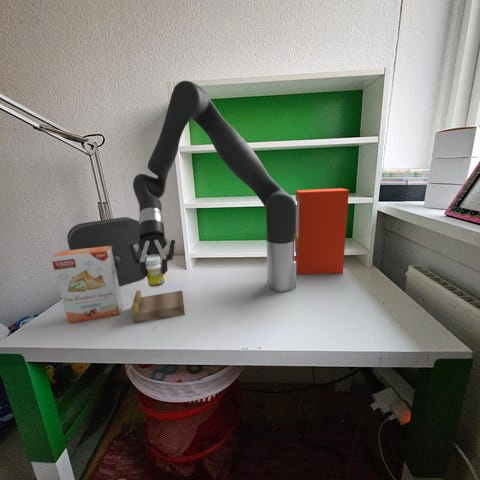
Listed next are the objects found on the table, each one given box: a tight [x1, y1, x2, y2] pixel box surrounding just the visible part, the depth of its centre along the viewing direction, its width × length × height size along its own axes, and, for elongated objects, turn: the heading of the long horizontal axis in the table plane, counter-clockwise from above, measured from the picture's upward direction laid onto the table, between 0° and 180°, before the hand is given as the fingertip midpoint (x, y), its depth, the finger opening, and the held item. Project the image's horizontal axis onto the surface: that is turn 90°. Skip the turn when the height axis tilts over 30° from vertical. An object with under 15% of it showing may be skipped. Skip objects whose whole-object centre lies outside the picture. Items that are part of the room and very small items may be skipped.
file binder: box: [294, 188, 350, 275], centre depth 97 cm, size 8×17×32 cm, turn 88°
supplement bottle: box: [146, 255, 165, 289], centre depth 74 cm, size 5×5×8 cm
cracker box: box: [50, 246, 123, 324], centre depth 74 cm, size 14×6×21 cm, turn 105°
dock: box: [131, 290, 186, 324], centre depth 76 cm, size 14×10×5 cm
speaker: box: [66, 216, 147, 288], centre depth 94 cm, size 25×9×25 cm, turn 129°
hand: (154, 274), depth 72 cm, fingers closed on supplement bottle, 4 cm apart
